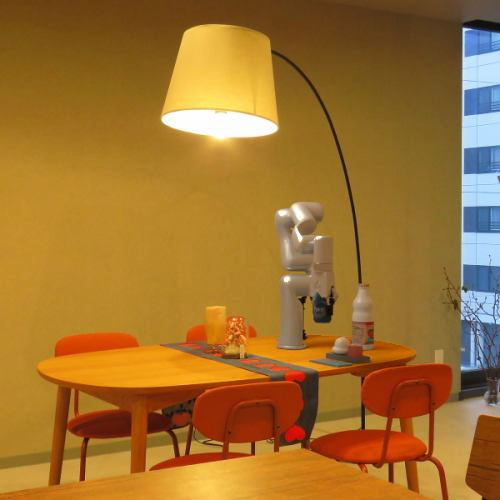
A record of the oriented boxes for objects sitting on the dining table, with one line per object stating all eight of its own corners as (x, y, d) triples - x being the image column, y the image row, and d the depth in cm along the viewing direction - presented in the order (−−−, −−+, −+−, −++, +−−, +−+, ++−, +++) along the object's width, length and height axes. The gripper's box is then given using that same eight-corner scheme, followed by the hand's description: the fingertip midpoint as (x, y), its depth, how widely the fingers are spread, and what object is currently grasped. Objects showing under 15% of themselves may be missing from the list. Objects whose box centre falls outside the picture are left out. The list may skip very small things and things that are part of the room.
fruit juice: (351, 347, 336) (352, 282, 335) (373, 347, 335) (374, 283, 334) (351, 350, 326) (352, 284, 326) (374, 350, 325) (375, 284, 325)
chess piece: (304, 340, 356) (305, 296, 356) (287, 339, 358) (288, 296, 357) (307, 337, 364) (307, 295, 364) (290, 337, 366) (291, 295, 365)
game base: (325, 358, 304) (325, 352, 304) (340, 356, 309) (340, 351, 309) (355, 363, 292) (355, 358, 292) (370, 361, 297) (370, 356, 297)
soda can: (311, 323, 291) (312, 291, 291) (314, 321, 298) (315, 290, 298) (330, 324, 290) (330, 292, 290) (332, 322, 296) (333, 291, 296)
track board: (309, 361, 294) (309, 360, 294) (323, 360, 299) (323, 358, 299) (337, 367, 283) (337, 365, 283) (352, 365, 287) (352, 363, 287)
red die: (347, 355, 297) (348, 344, 297) (355, 354, 300) (355, 343, 300) (355, 357, 294) (355, 345, 294) (362, 356, 297) (362, 344, 297)
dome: (328, 352, 303) (328, 336, 303) (342, 350, 308) (342, 335, 308) (342, 354, 297) (342, 339, 297) (356, 352, 302) (356, 337, 302)
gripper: (300, 267, 298) (300, 313, 298) (332, 268, 284) (331, 317, 285) (314, 267, 303) (314, 312, 303) (346, 268, 289) (346, 316, 289)
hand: (322, 314), depth 294 cm, fingers closed on soda can, 6 cm apart
